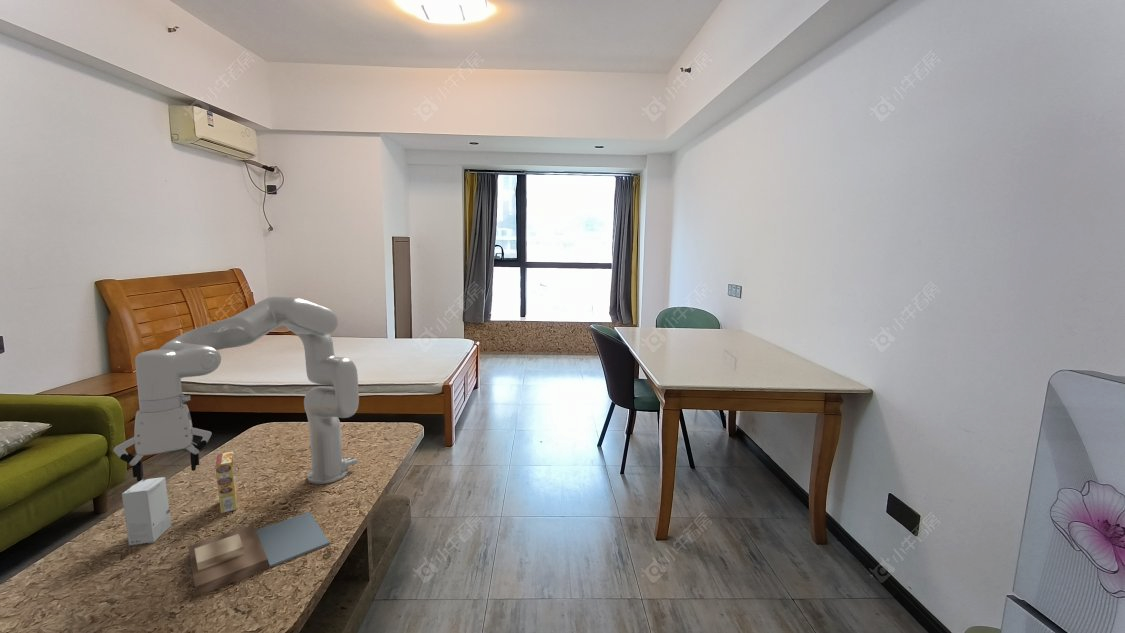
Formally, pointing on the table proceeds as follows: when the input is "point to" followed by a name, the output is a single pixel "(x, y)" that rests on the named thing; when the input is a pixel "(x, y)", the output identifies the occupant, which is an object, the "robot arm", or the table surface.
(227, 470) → the candy box
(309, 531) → the mat
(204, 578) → the block
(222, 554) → the tile
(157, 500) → the skincare box
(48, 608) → the table surface
